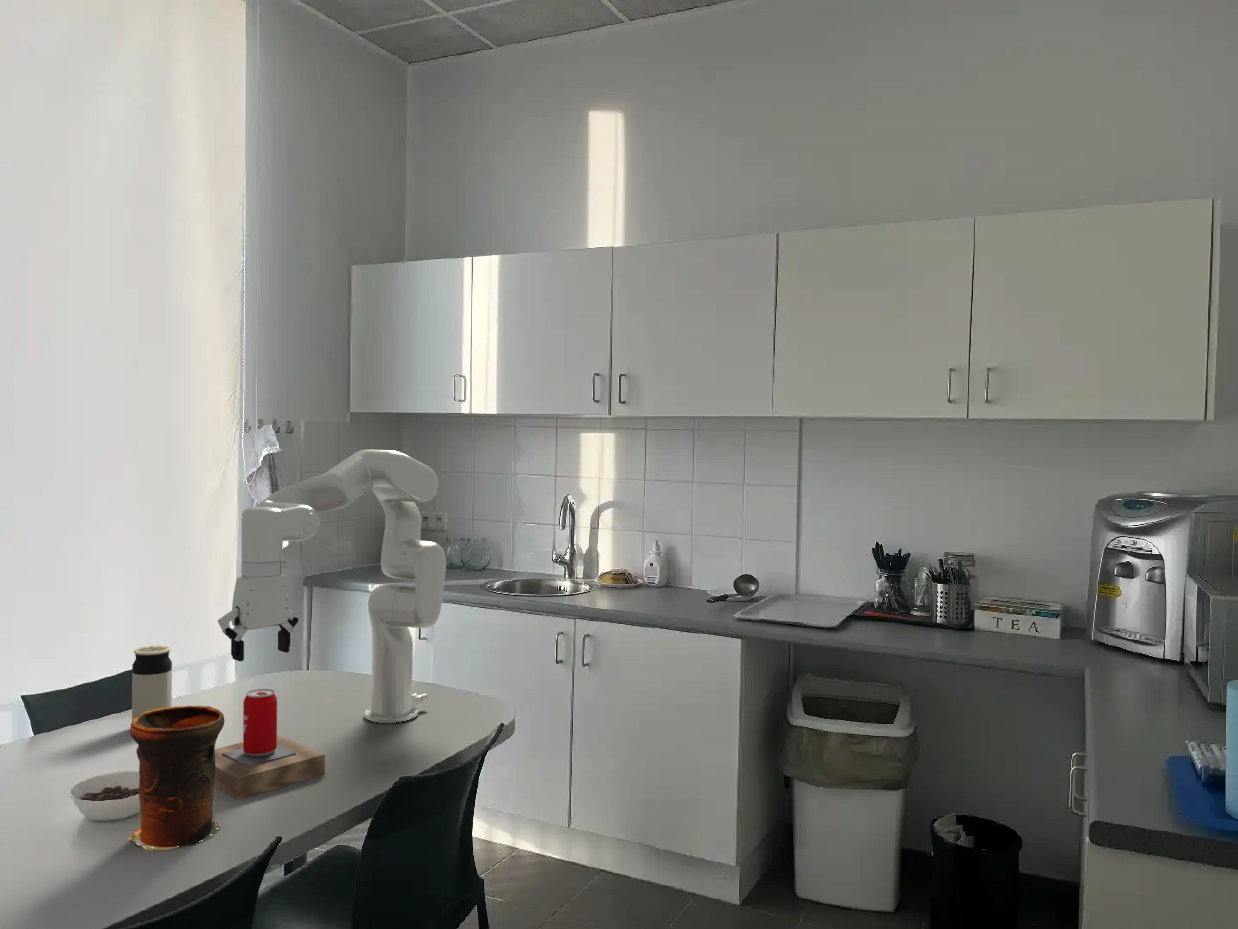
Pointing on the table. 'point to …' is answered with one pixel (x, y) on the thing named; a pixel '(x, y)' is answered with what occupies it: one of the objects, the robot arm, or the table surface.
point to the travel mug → (151, 679)
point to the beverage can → (260, 722)
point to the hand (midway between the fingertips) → (261, 655)
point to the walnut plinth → (265, 768)
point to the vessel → (176, 775)
